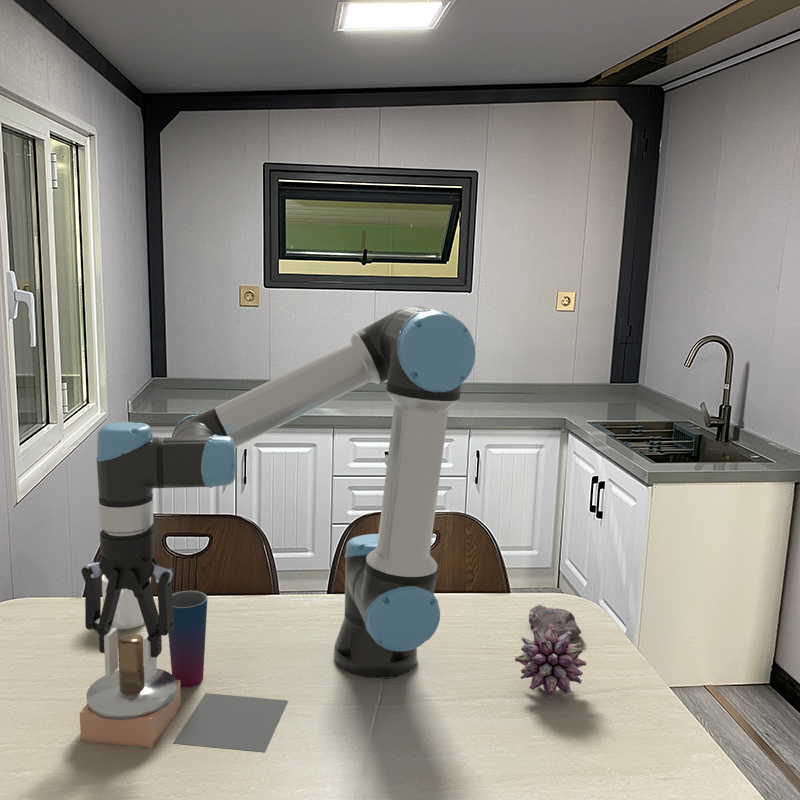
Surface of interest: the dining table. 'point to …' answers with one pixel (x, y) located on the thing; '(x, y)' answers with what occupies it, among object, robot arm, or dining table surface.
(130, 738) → the dish
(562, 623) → the rock
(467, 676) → the dining table surface
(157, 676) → the lid
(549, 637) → the flower
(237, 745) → the mat
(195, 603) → the cup
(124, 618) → the mug
